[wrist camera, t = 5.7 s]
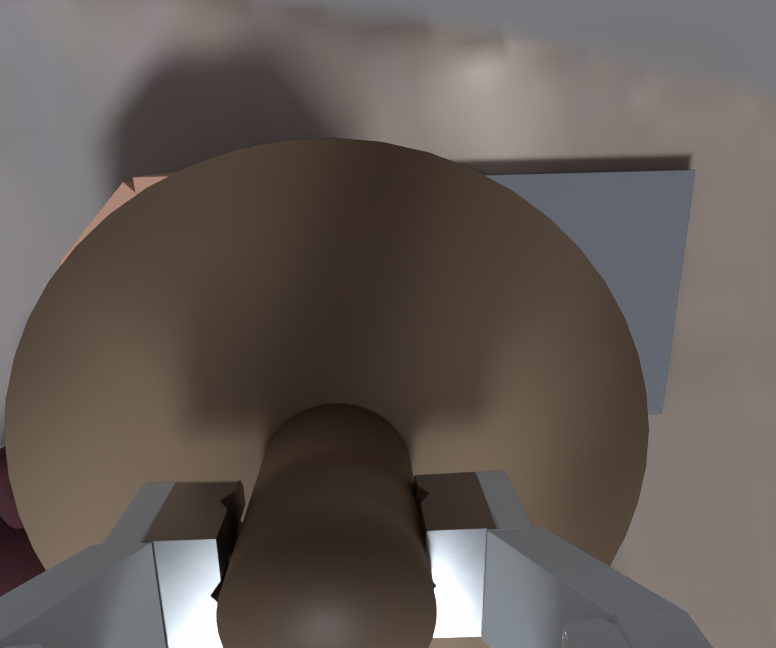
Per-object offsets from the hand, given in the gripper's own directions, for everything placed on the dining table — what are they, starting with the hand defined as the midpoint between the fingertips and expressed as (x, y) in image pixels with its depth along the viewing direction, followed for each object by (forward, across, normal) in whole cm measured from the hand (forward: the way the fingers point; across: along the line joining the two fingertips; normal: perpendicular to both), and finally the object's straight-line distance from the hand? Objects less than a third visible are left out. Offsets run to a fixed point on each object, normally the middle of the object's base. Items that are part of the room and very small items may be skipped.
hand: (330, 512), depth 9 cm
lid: (+2, 0, 0) cm, 3 cm away
